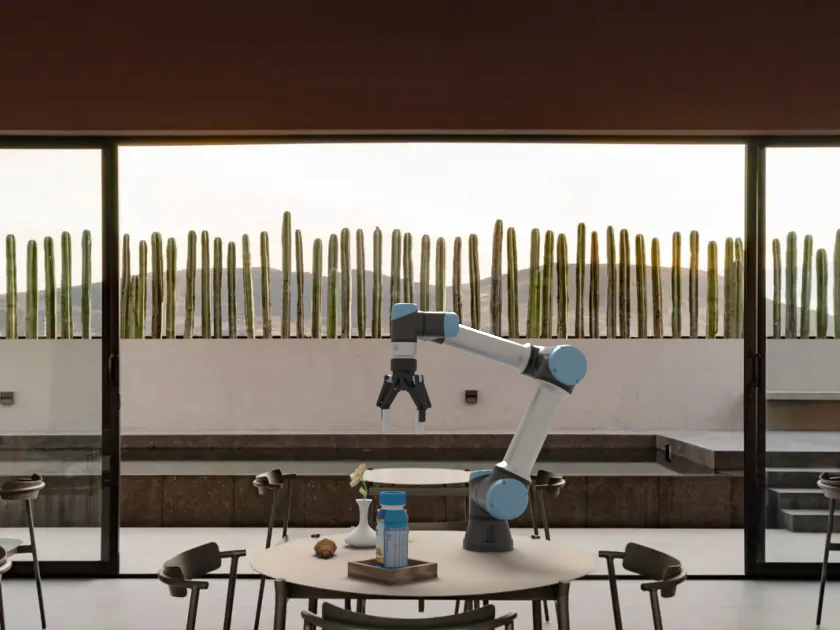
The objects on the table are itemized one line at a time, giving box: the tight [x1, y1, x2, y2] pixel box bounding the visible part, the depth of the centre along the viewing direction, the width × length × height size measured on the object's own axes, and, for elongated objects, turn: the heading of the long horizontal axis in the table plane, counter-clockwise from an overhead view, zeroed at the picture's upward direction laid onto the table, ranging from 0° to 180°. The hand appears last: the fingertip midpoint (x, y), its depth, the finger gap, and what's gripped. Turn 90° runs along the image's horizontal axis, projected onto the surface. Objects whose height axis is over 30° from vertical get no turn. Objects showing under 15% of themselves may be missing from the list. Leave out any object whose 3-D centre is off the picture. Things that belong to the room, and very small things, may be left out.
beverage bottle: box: [375, 490, 410, 569], centre depth 244 cm, size 8×8×20 cm
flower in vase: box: [344, 463, 376, 548], centre depth 290 cm, size 13×11×25 cm
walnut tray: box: [347, 557, 439, 587], centre depth 244 cm, size 16×16×4 cm
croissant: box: [313, 537, 338, 559], centre depth 275 cm, size 14×7×5 cm, turn 8°
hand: (402, 433), depth 273 cm, fingers open, 13 cm apart
